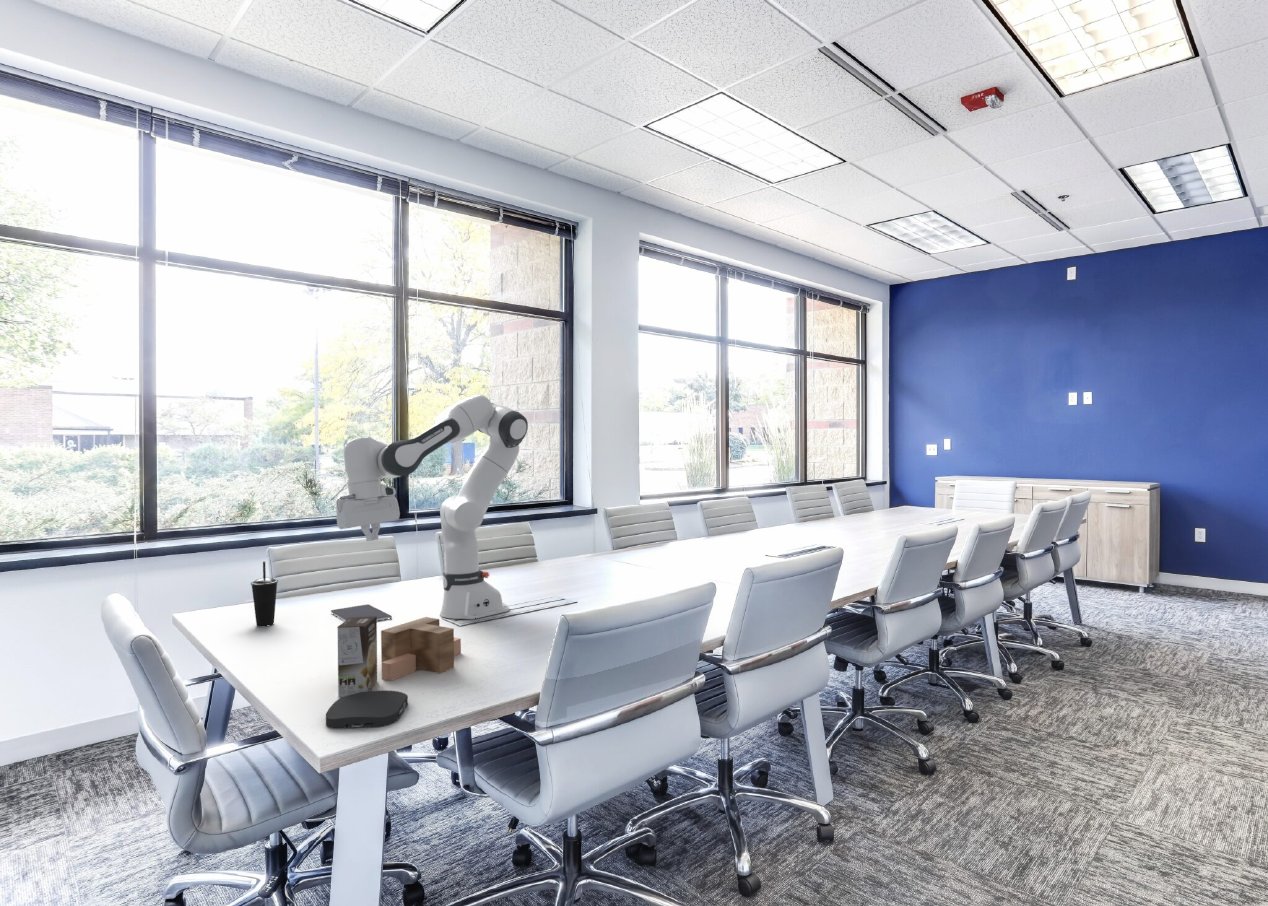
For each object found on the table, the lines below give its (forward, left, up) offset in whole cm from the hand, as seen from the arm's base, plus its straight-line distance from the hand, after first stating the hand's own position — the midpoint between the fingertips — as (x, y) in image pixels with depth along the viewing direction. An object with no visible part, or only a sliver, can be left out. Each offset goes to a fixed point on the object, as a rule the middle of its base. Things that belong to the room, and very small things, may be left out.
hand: (372, 540), depth 199 cm
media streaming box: (+16, +54, -30) cm, 64 cm away
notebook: (-4, -32, -30) cm, 44 cm away
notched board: (-4, +30, -29) cm, 42 cm away
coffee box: (+14, +38, -29) cm, 50 cm away
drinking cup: (+23, -39, -29) cm, 54 cm away
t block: (-4, +31, -29) cm, 43 cm away
